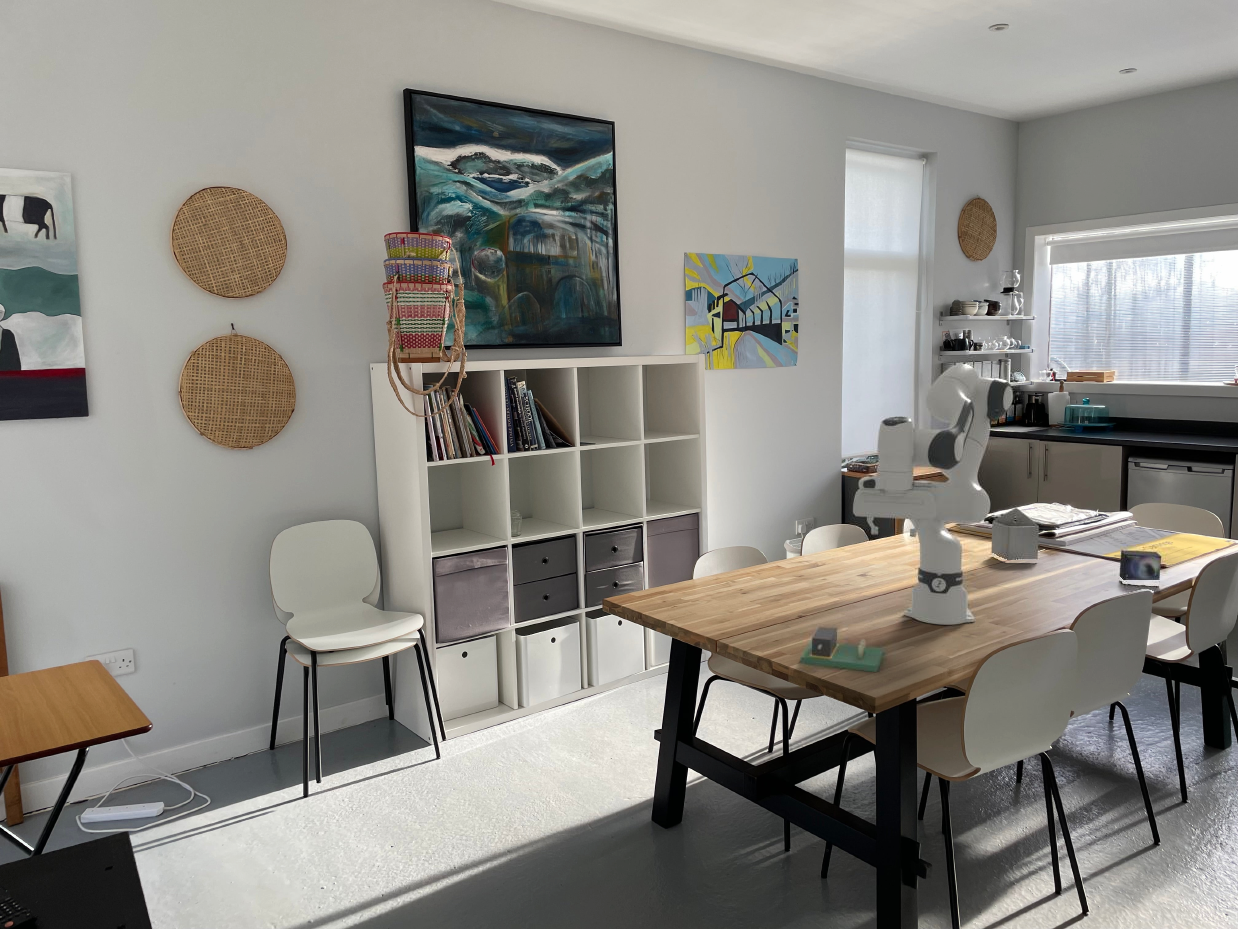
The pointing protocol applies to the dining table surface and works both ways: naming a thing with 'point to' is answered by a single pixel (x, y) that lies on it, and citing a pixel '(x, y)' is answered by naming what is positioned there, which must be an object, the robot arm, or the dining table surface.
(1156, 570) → the small box
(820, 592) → the dining table surface
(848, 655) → the board
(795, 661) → the dining table surface
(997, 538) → the planter
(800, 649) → the dining table surface
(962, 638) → the dining table surface
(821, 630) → the block
